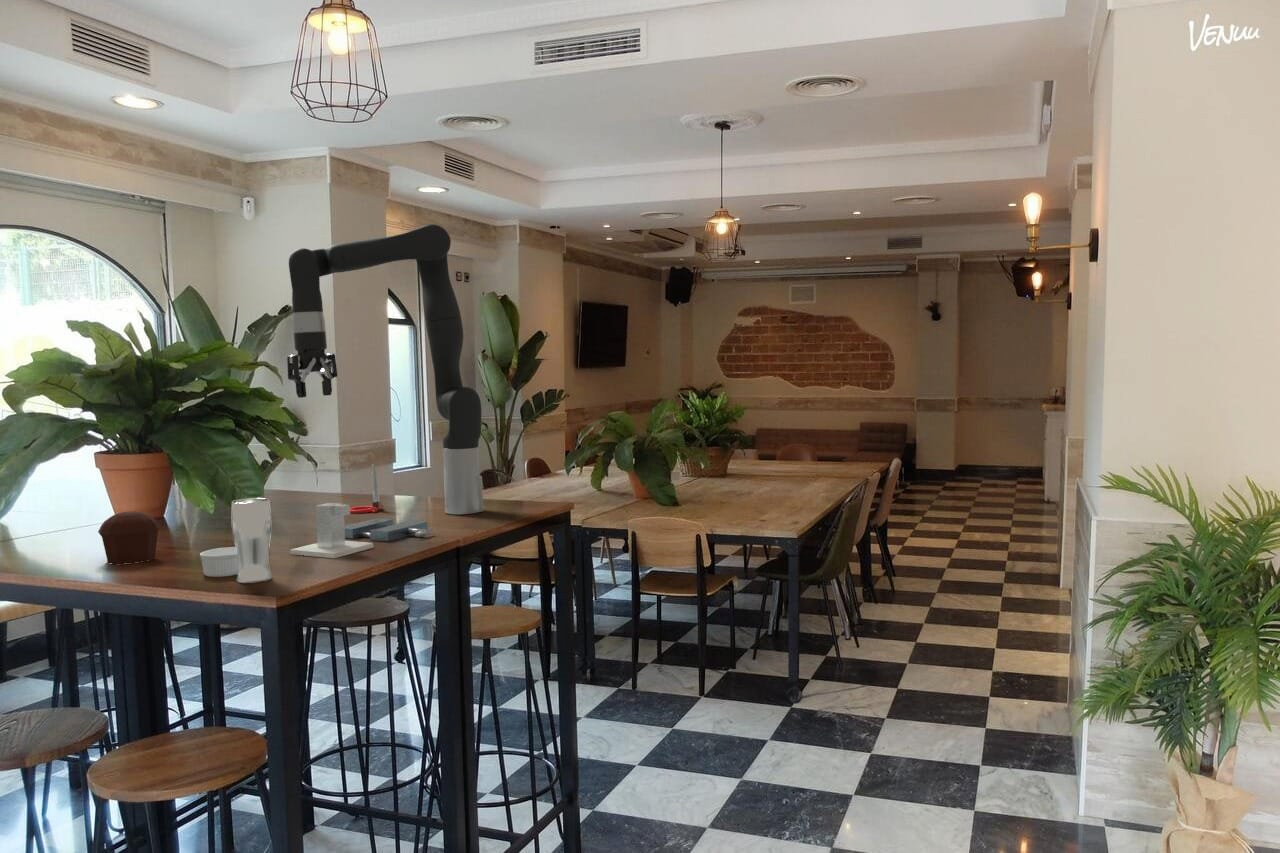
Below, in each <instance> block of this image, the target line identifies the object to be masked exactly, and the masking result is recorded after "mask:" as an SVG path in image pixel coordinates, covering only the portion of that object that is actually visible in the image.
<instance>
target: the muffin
mask: <svg viewBox="0 0 1280 853" xmlns="http://www.w3.org/2000/svg"><path fill="white" fill-rule="evenodd" d="M161 528H162V526H161V525H160V523H159V522H158V521H157V520H156V519H155V518H154V517H153V516H151V515H149V514H147V513H145V512H142V511H122V512H119V513H115V514H113V515H111V516H110V517H108V518H107V519H105V521H103V523H102V524H101V525H100V527H99V529H98V530H97V533H98V534H99V535H100V536H101V540H102V543H103V544H102V545H103V548H104V551H105V556H106V561H107V563H108V564H109V563H114V564H113V565H115V564H124V563H135V562H141V561H147V560H150V559H152V560H154V559H153V558H156V551H157V543H158V535H159V534H158V533H159V531H160V529H161ZM150 561H151V560H150ZM147 562H148V561H147ZM141 563H142V562H141ZM124 565H125V564H124Z"/></svg>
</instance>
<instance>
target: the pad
mask: <svg viewBox="0 0 1280 853" xmlns="http://www.w3.org/2000/svg"><path fill="white" fill-rule="evenodd" d="M373 548H374V543H373V542H364V541H355V540H354V541H353V540H345V545H344V546H340V547H336V548H332V549H331V548H321V547H318V544H317V542H316V543H310V544H306V545H303V546H299V547H296V548H291V549H290V555H292V556H293V555H294V556H295V555H296V556H303V555H304V556H306V557H315V558H326V559H327V558H328V559H337V558H341V557H345V556H348V555H351V554H356V553H358V552H363V551H366V550H369V549H373Z"/></svg>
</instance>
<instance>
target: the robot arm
mask: <svg viewBox="0 0 1280 853" xmlns="http://www.w3.org/2000/svg"><path fill="white" fill-rule="evenodd" d="M450 248H451V237H450V235H449V232H448V231H447V230H446V229H445V228H444V227H442V226H441V225H439V224H436V223H435V224H433V223H428V224H424V225H422V226H421V227H419V228H416V229H412V230H410V231H407V232H404V233H400V234H395V235H391V236H385V237H377V238H369V239H361V240H360V239H359V240H355V241H354V240H353V241H348V242H342V243H341V242H340V243H335V244H332V245H329V246H328V247H325V248H318V249H312V250H311V249H309V248H303V247H301V248H298V249H294V251H293V252H292V253H291V254H290V255H289V257H288V271H289V278H290V284H291V289H292V290H291V303H292V304H291V305H292V313H293V314H292V325H293V326H292V328H293V330H292V331H293V338H294V340H293V341H294V349H295V351H297V354H294V355H293V354H291V355H287V358H286V360H287V362H286V363H287V379H288V380H289V381H293V382H294V384H295V392H296V395H297V397H298V398H306V397H307V388H306V382H305V381H306V378H307V377H308V375H310V373H316V374H317V375H319V376H320V378H321V379H322V381H321V385H322V386H321V388H322V395H323V396H325V397H326V396H331V395H332V393H333V387H332V380H333V379H334V378H338V369H337V368H338V367H337V361H336V355H335V353H326V351H325V350H327V343H328V342H327V336H326V335H327V334H326V333H327V332H326V320H325V316H324V308H323V296H322V293H321V288H320V287H321V286H320V283H321V282H320V278H321V277H323V276H324V277H325V276H328V275H331V274H335V273H347V272H351V271H357V270H363V269H367V268H372V267H377V266H380V265H384V264H388V263H392V262H397V261H398V262H399V261H404V260H408V261H409V260H416V264H417V269H418V272H419V273H418V274H419V275H420V276H419V277H420V281H421V290H422V305H423V312H424V321H425V328H426V333H427V337H428V342H429V348H430V349H429V350H430V355H431V362H432V366H433V373H434V387H435V403H436V407H437V411H438V413H439V414H440V416H441V417H442V418H443V419H445V420H446V421H448V422H449V424H448V425H449V426H448V432H447V433H446V434H445V436H443V439H442V455H443V460H442V461H443V484H444V511H445V514H447V515H470V514H477V513H480V512H484V501H483V500H484V497H483V494H484V493H483V476H482V475H480V456H479V454H480V452H479V441H480V438H481V435H482V402H481V398H480V396H479V394H478V392H477V391H476V390H475V389H473V388H472V387H469V386H464V385H463V381H462V376H461V369H460V363H461V361H460V360H461V356H462V349H463V344H464V343H463V342H464V328H463V327H464V326H463V321H462V317H461V316H462V315H461V311H460V307H459V304H458V299H457V297H456V294H455V291H454V288H453V285H452V283H451V278H450V274H449V264H448V253H449V251H450Z"/></svg>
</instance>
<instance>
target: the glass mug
mask: <svg viewBox="0 0 1280 853" xmlns="http://www.w3.org/2000/svg"><path fill="white" fill-rule="evenodd" d="M350 508H351V505H350V504H344V503H341V502H340V503H338V502H327V503H322V504H318V505H317V504H316V505H315V515H316V516H315V517H316V539H317V542H316V543H317V544H318V547H321V548H331V549H332V548H336V547H340V546H344V545H345V541H346V538H345V526H346V525H345V516H347V515H351V513H350Z"/></svg>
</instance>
